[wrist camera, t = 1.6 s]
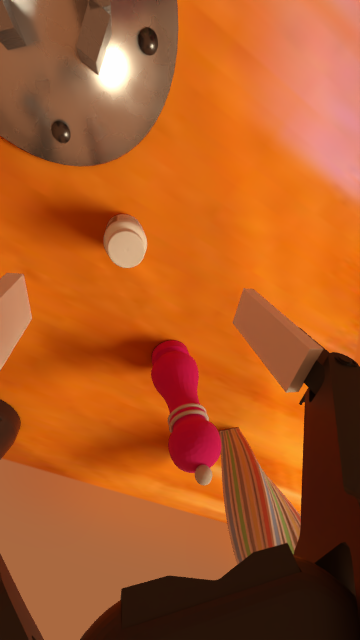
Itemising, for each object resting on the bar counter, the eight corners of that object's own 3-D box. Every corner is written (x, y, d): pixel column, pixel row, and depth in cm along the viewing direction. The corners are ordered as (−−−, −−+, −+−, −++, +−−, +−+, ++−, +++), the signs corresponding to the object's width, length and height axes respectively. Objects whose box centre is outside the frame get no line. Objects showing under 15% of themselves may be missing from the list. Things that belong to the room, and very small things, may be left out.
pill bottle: (105, 211, 26) (100, 222, 20) (144, 216, 27) (151, 228, 21) (106, 250, 28) (102, 271, 22) (141, 253, 30) (148, 274, 23)
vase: (199, 455, 59) (256, 657, 34) (204, 423, 52) (281, 647, 27) (247, 445, 62) (333, 625, 37) (258, 413, 55) (373, 609, 30)
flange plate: (-57, 143, 21) (-86, 138, 18) (-211, -384, 11) (-331, -589, 8) (162, 181, 26) (168, 182, 23) (194, -150, 16) (211, -221, 13)
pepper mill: (140, 362, 39) (155, 501, 22) (163, 330, 37) (200, 459, 20) (174, 375, 42) (210, 503, 26) (198, 346, 40) (254, 467, 23)
